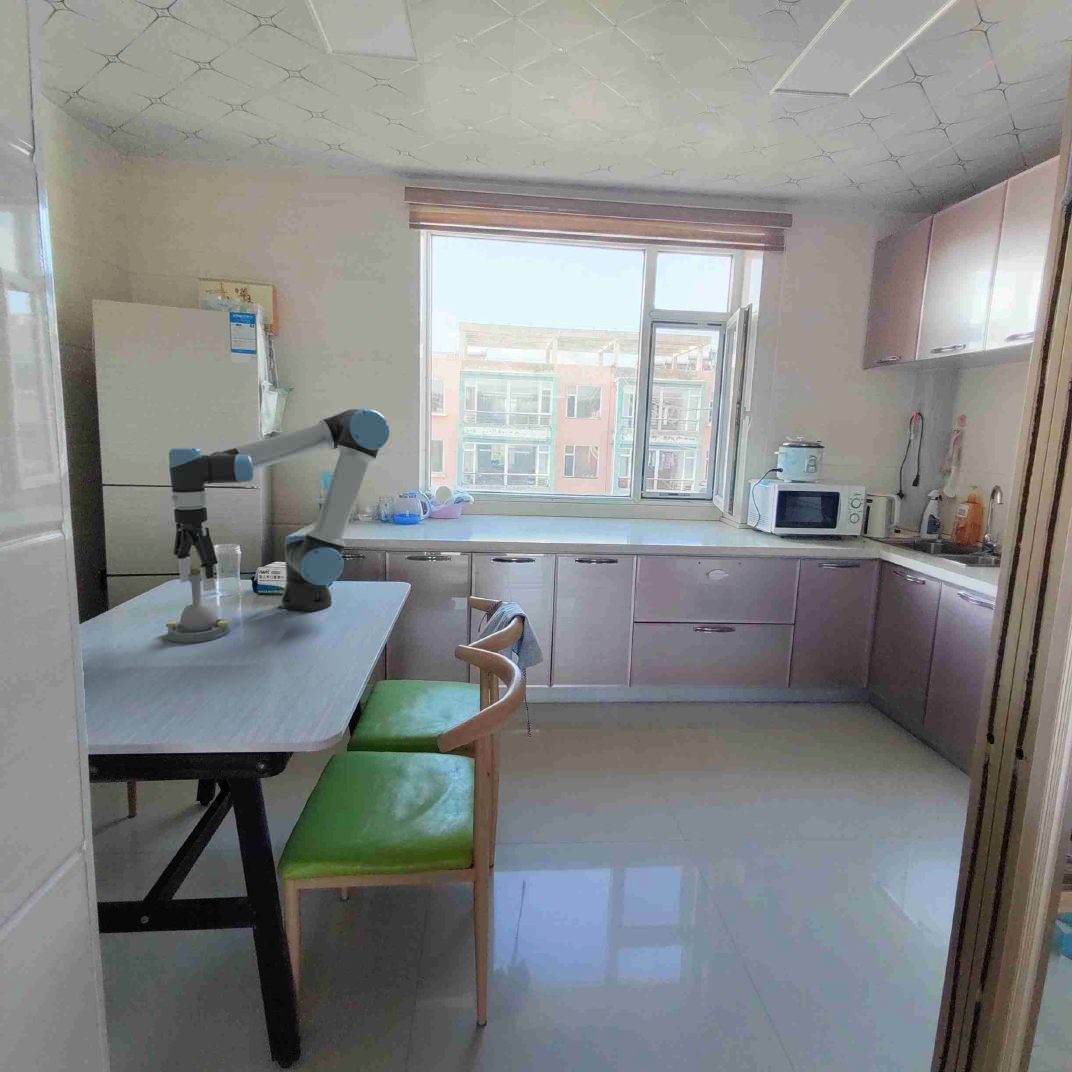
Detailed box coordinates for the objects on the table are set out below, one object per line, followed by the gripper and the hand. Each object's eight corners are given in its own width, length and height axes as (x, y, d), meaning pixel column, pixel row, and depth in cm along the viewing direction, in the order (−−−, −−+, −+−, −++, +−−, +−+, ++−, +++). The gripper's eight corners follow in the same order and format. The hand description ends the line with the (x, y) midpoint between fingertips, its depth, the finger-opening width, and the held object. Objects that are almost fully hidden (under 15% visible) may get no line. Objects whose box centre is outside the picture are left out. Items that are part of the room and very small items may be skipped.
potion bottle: (194, 625, 171) (189, 562, 168) (224, 627, 170) (220, 563, 167) (172, 635, 163) (167, 569, 160) (204, 637, 162) (199, 571, 159)
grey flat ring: (238, 624, 175) (237, 613, 175) (218, 642, 161) (217, 630, 160) (181, 625, 173) (180, 614, 173) (155, 643, 159) (154, 631, 158)
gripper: (155, 504, 166) (163, 580, 170) (196, 513, 150) (204, 596, 154) (184, 501, 171) (191, 575, 175) (227, 510, 156) (234, 590, 160)
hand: (197, 585), depth 165 cm, fingers open, 13 cm apart
